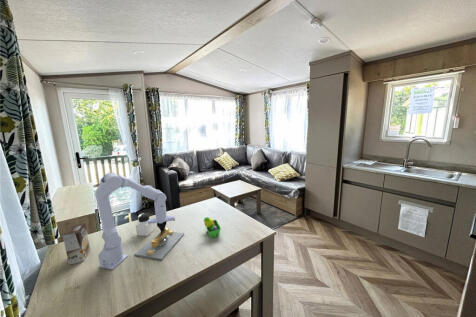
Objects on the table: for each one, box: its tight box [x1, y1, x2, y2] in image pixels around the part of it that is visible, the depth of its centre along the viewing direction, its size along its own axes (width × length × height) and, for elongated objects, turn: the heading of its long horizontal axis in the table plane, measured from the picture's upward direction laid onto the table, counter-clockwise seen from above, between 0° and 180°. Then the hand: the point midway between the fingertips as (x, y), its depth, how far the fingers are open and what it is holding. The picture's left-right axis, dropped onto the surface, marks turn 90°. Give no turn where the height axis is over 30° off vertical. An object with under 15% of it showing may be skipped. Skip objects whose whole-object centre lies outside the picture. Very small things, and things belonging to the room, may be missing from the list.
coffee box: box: [62, 223, 91, 265], centre depth 96 cm, size 9×6×16 cm
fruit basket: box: [203, 216, 222, 238], centre depth 115 cm, size 11×9×11 cm
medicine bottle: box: [135, 212, 155, 237], centre depth 117 cm, size 7×7×12 cm
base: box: [134, 229, 185, 261], centre depth 106 cm, size 22×16×2 cm
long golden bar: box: [151, 227, 170, 248], centre depth 105 cm, size 7×13×4 cm, turn 170°
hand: (163, 233), depth 111 cm, fingers closed, pressing on long golden bar
